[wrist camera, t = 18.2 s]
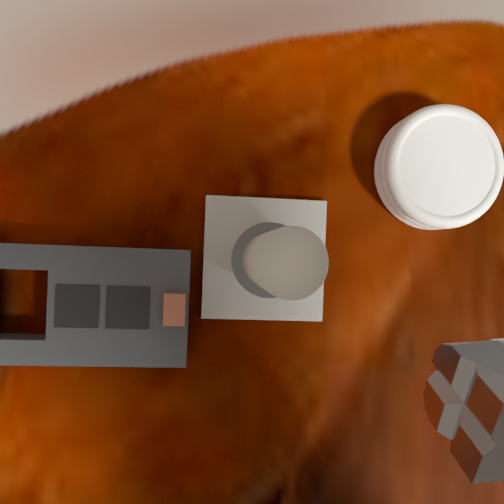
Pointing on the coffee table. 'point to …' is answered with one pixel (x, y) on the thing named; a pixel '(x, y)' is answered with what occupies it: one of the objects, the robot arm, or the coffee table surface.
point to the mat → (220, 251)
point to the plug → (279, 261)
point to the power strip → (104, 307)
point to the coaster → (439, 167)
